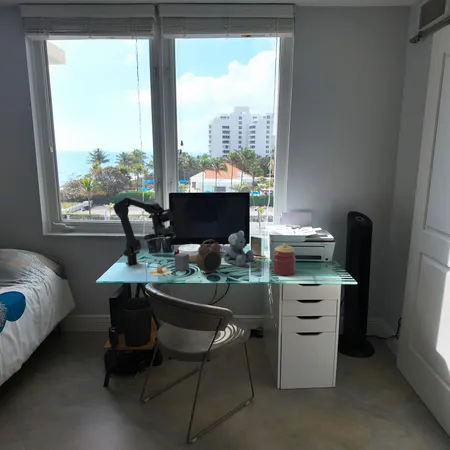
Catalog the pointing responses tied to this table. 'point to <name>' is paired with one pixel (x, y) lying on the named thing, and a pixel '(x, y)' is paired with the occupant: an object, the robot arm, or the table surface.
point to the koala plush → (238, 250)
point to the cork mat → (155, 273)
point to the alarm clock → (209, 257)
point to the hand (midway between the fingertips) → (162, 250)
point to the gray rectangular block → (181, 261)
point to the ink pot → (159, 269)
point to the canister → (284, 260)
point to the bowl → (190, 251)
